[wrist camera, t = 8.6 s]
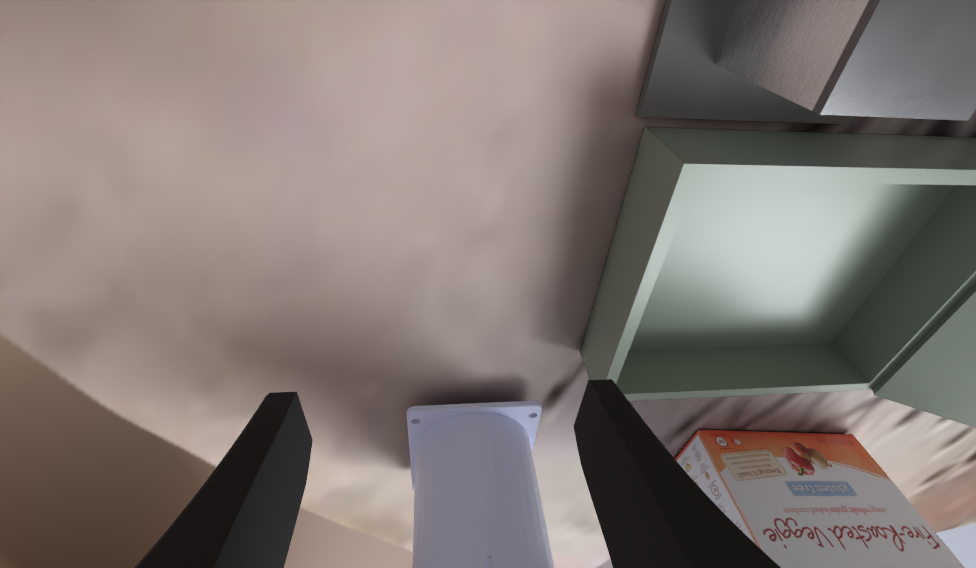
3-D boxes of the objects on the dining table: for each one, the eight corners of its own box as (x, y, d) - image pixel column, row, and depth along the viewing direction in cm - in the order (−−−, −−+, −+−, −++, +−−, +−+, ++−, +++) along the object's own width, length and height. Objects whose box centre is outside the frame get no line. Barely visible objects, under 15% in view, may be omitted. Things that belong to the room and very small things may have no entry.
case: (1008, 338, 29) (1260, 516, 20) (579, 352, 25) (658, 575, 17) (1228, 145, 21) (1808, 303, 12) (644, 126, 17) (863, 330, 9)
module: (827, 70, 16) (967, 120, 12) (714, 64, 16) (820, 114, 11) (908, -89, 14) (1127, -96, 9) (773, -103, 13) (942, -118, 9)
